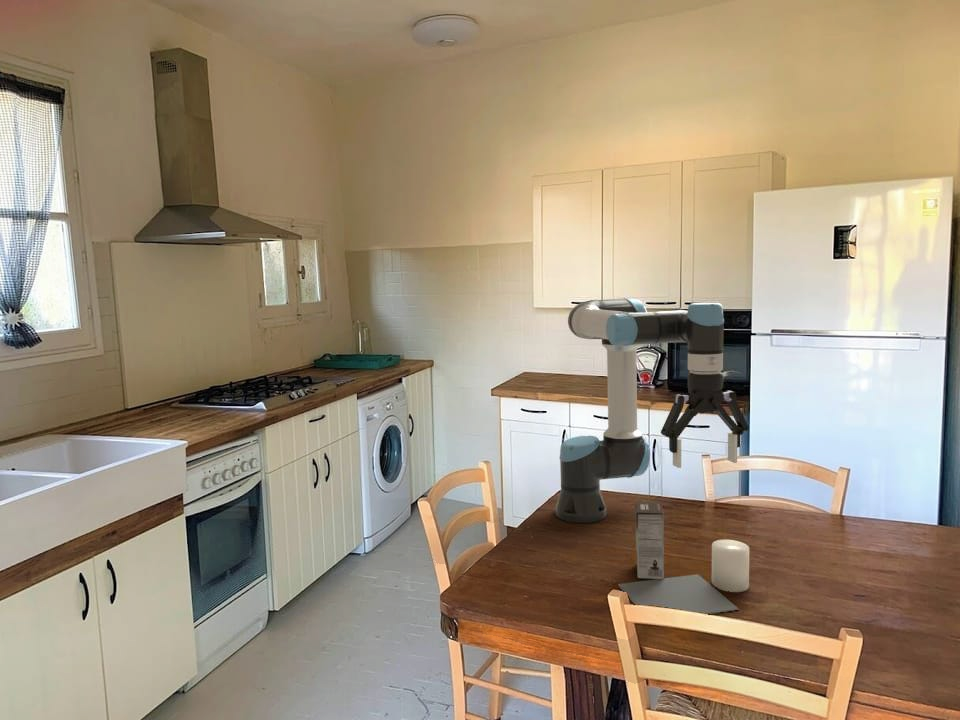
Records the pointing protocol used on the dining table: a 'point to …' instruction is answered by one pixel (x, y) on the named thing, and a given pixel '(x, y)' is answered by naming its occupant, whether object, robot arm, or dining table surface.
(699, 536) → the dining table surface
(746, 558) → the white rounded cylinder
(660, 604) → the mat
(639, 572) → the coffee box
